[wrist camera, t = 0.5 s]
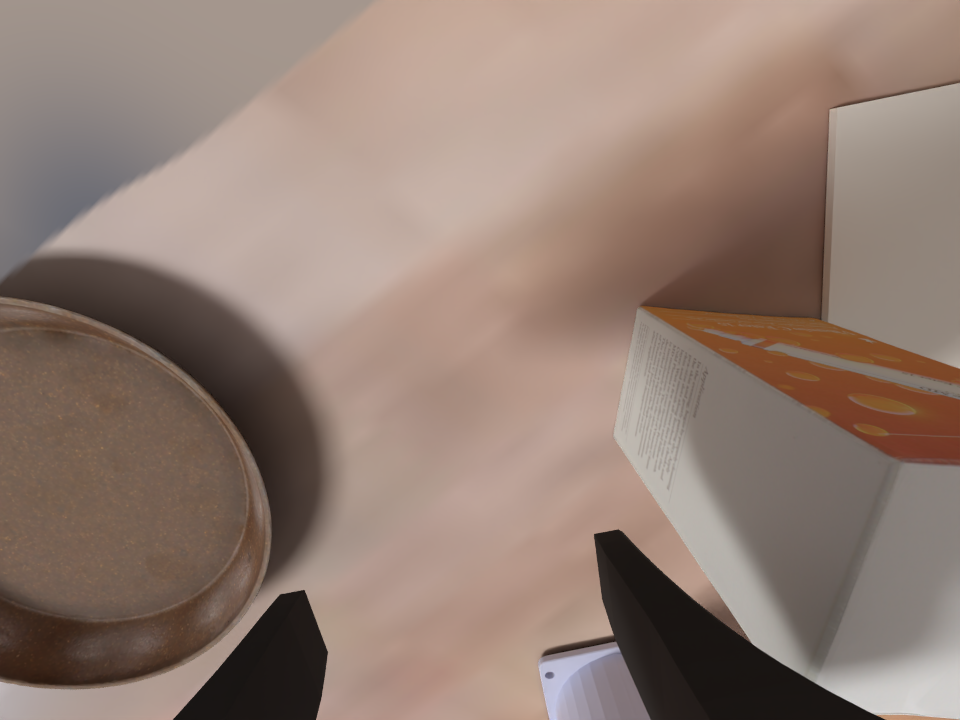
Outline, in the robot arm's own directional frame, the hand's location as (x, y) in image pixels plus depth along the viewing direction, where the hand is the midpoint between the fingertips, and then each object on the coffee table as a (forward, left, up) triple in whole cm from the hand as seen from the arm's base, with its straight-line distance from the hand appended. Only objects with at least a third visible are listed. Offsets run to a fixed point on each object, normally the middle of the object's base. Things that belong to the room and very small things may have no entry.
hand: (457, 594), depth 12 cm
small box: (-1, -11, -11) cm, 16 cm away
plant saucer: (0, +17, -11) cm, 20 cm away
